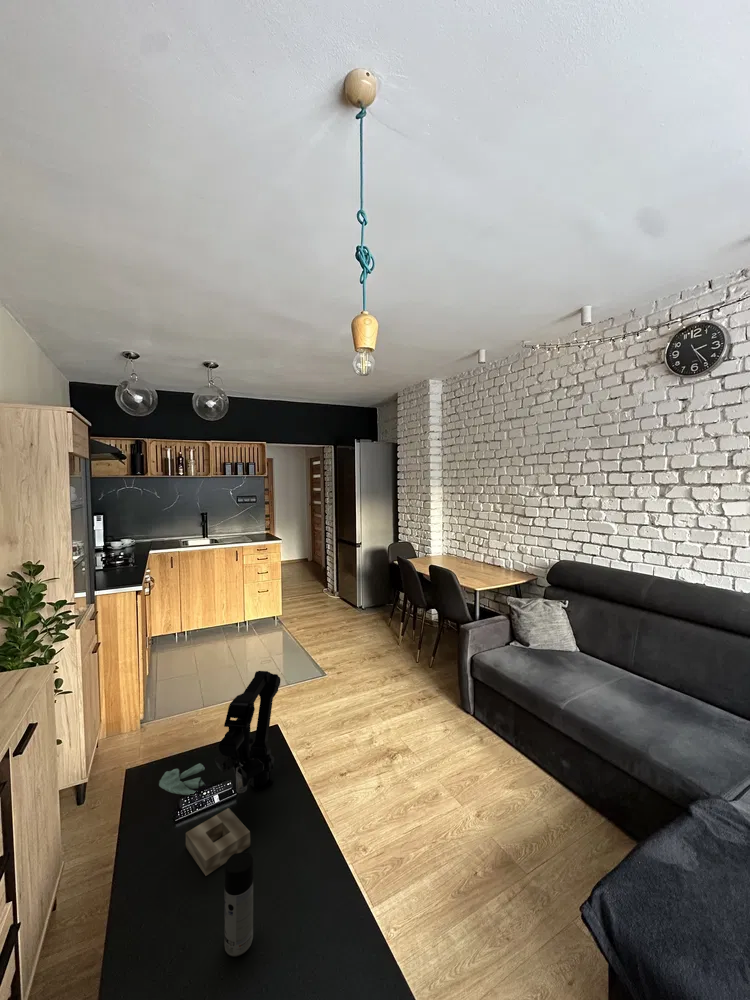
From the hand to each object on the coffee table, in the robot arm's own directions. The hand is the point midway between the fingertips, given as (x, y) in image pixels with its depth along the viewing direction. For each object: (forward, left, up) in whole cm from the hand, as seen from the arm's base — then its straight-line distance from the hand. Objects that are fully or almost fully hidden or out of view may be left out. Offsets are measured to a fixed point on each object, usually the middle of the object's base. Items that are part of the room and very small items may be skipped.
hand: (241, 783), depth 140 cm
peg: (0, 0, -2) cm, 2 cm away
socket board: (+11, +5, -12) cm, 17 cm away
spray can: (+20, +35, -12) cm, 42 cm away
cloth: (+4, -32, -13) cm, 35 cm away
